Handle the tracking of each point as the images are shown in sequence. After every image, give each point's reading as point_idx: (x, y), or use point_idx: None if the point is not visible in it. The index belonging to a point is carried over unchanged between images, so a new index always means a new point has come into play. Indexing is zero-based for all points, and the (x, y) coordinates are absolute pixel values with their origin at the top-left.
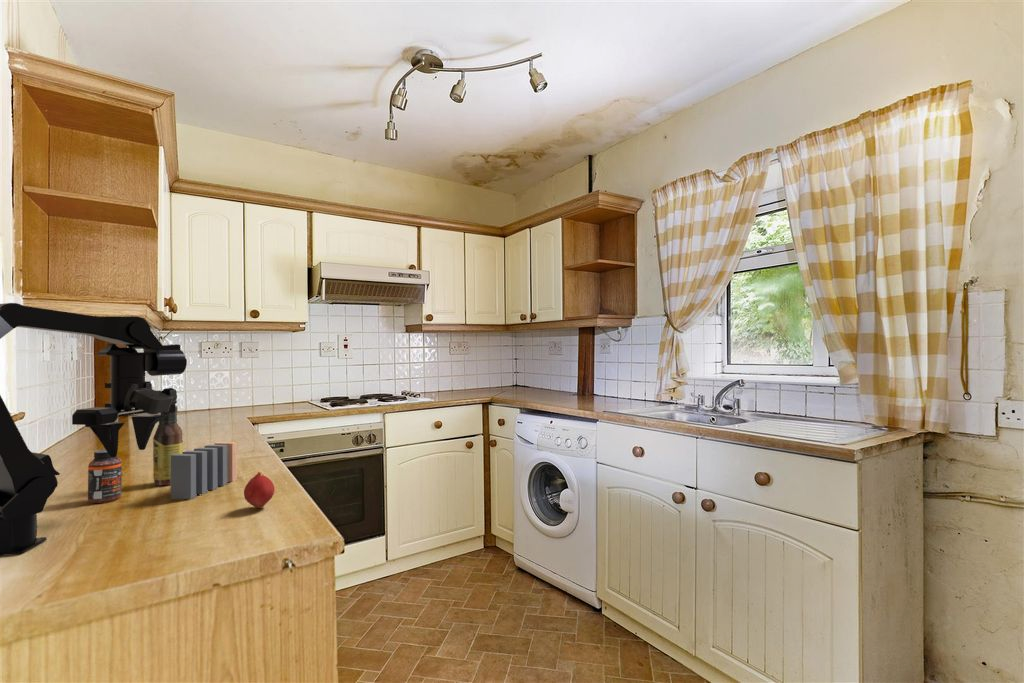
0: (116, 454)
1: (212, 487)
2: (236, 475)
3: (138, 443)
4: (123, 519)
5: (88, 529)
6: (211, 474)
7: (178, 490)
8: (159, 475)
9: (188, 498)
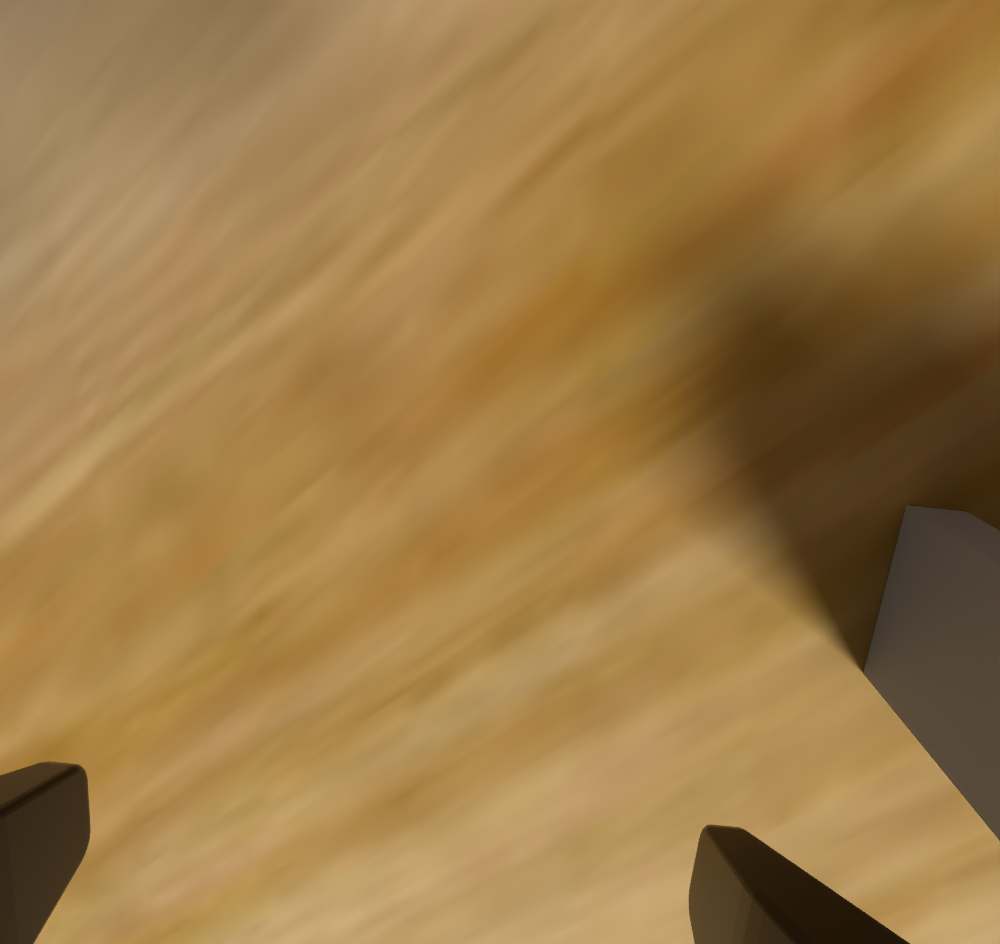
0: (51, 889)
1: None
2: None
3: (742, 917)
4: (407, 491)
5: (196, 402)
6: None
7: (926, 604)
8: None
9: (872, 658)
